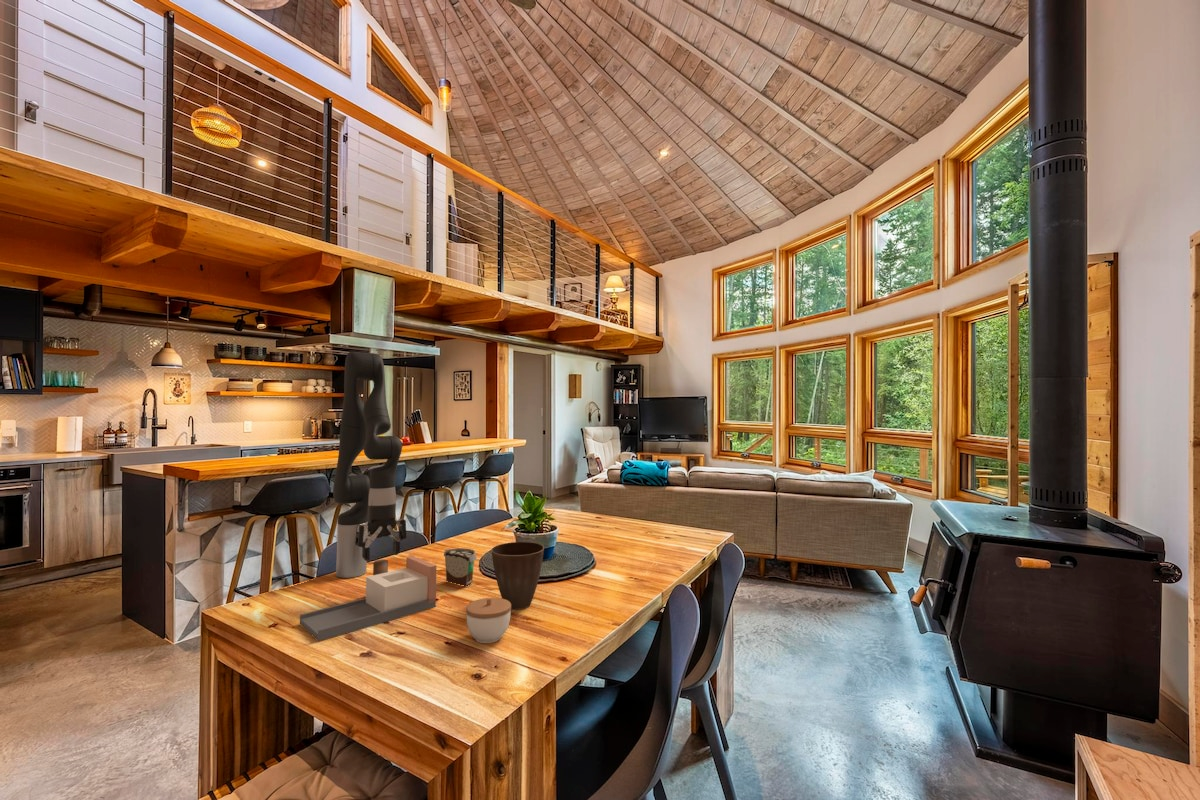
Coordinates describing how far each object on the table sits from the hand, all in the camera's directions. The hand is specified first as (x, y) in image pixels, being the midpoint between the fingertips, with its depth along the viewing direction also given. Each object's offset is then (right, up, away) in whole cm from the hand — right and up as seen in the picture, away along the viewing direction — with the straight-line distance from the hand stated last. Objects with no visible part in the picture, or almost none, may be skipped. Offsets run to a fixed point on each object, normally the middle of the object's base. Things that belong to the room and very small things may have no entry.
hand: (381, 557), depth 148 cm
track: (+4, -11, -15) cm, 19 cm away
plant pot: (+42, -12, -6) cm, 44 cm away
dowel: (0, -11, 0) cm, 11 cm away
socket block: (+9, -10, -10) cm, 16 cm away
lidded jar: (+38, -11, -28) cm, 48 cm away
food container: (+21, -12, +13) cm, 27 cm away
